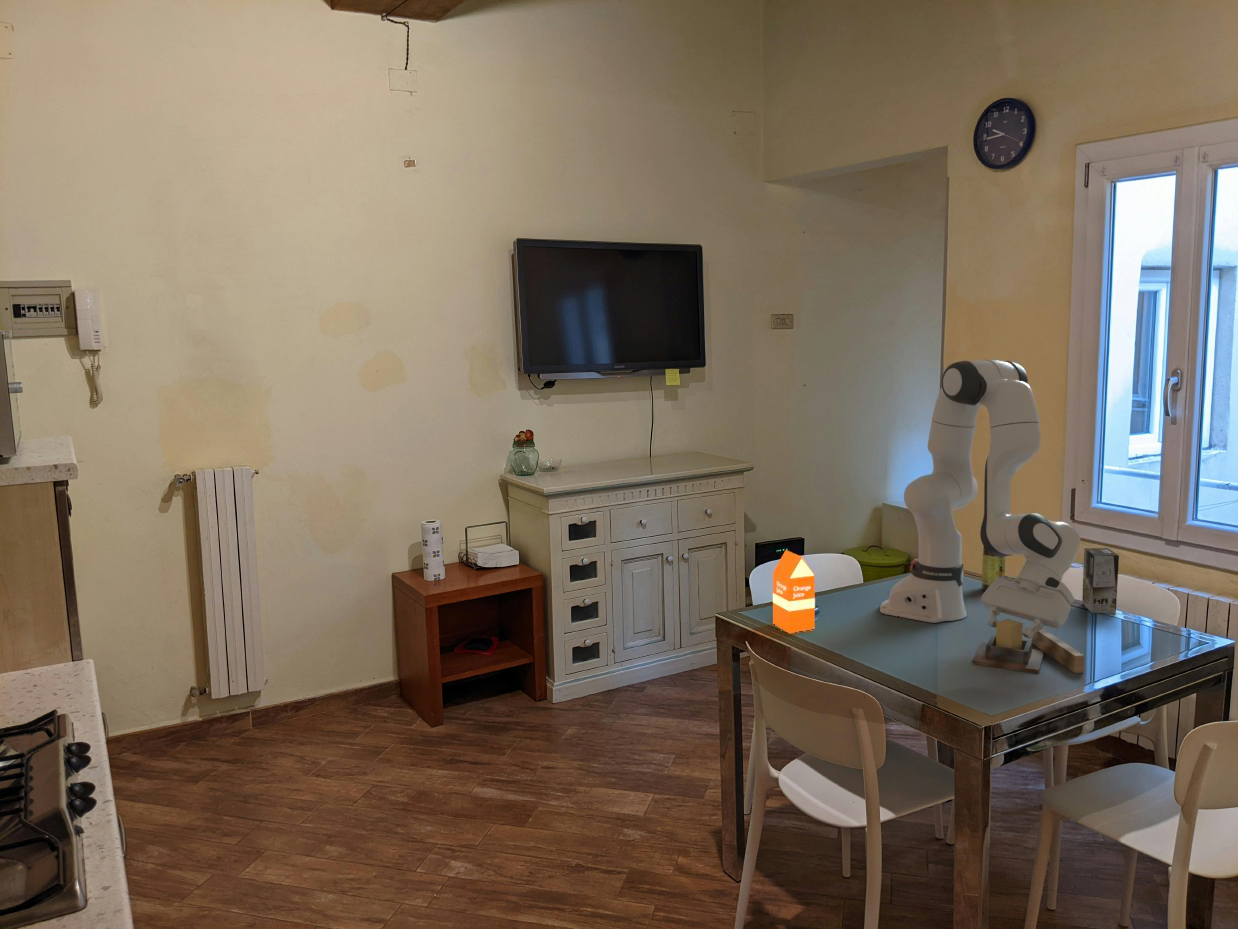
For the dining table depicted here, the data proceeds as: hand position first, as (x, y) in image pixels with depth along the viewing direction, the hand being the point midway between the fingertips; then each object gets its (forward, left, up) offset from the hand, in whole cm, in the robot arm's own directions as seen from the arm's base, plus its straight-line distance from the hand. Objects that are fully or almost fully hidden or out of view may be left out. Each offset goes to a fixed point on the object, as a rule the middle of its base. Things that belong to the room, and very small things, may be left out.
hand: (1008, 631), depth 212 cm
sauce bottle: (-11, +59, -7) cm, 61 cm away
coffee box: (+17, +51, -7) cm, 55 cm away
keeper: (0, 0, -7) cm, 7 cm away
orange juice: (-53, +2, -7) cm, 53 cm away
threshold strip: (+10, +6, -7) cm, 14 cm away
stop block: (0, 0, -6) cm, 6 cm away
